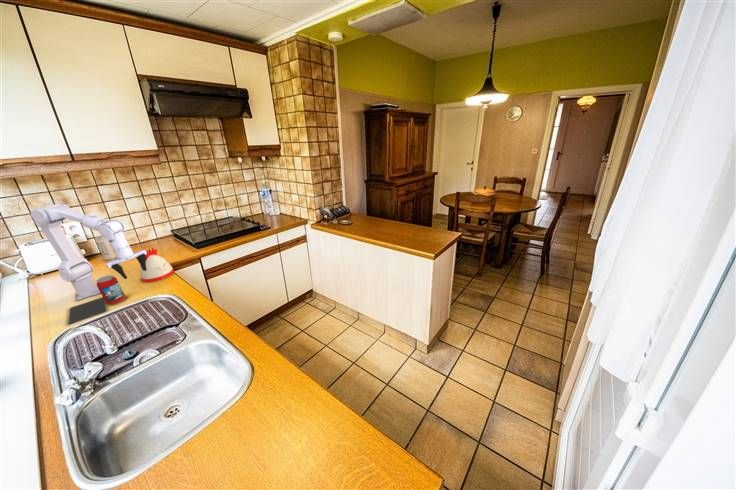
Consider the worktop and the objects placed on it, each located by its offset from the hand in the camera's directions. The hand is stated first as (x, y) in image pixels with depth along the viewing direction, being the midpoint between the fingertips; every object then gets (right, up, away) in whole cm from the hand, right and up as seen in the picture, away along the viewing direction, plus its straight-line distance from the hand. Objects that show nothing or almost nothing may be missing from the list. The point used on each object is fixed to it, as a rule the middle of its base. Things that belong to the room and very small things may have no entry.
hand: (135, 274), depth 122 cm
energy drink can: (-56, +5, +46) cm, 72 cm away
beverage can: (-8, -12, -1) cm, 15 cm away
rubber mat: (-15, -15, -7) cm, 22 cm away
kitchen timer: (-6, -3, +21) cm, 22 cm away
